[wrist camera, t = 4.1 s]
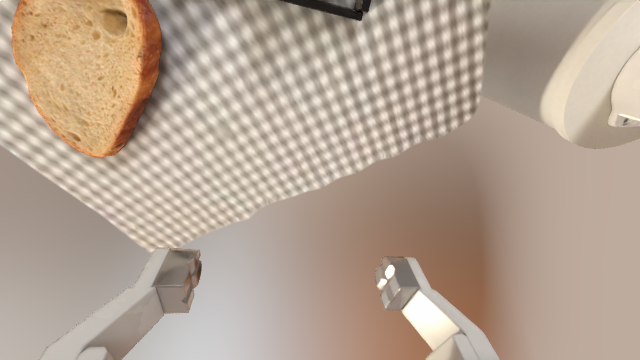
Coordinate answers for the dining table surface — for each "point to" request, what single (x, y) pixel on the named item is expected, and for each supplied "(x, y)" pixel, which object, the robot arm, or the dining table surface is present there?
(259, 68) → the dining table surface
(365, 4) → the dish rack
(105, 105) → the bread slice
